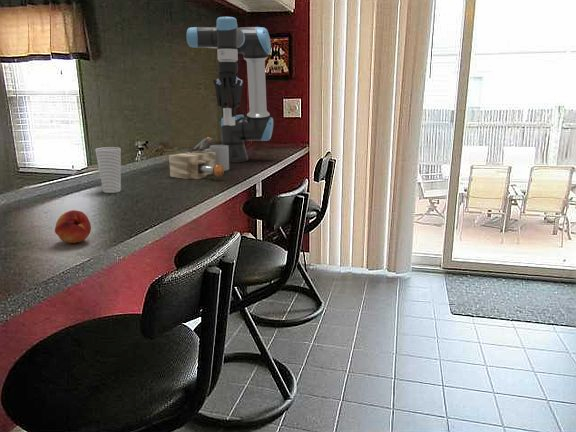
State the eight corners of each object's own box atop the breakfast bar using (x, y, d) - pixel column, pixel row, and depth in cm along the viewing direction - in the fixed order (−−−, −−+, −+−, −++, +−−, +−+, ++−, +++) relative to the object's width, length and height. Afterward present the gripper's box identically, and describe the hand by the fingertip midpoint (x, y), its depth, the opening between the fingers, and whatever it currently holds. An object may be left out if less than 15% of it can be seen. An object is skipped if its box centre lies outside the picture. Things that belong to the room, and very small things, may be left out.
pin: (194, 171, 200) (193, 160, 199) (224, 175, 191) (224, 164, 190) (186, 173, 196) (185, 162, 195) (216, 177, 187) (216, 165, 186)
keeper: (199, 151, 209) (197, 148, 209) (213, 139, 202) (212, 135, 203) (192, 152, 205) (190, 149, 205) (206, 140, 199) (204, 136, 199)
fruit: (56, 249, 107) (52, 216, 105) (56, 240, 114) (52, 208, 112) (93, 245, 110) (89, 212, 108) (91, 236, 117) (88, 205, 115)
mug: (231, 168, 219) (230, 145, 216) (225, 171, 211) (225, 147, 208) (207, 167, 221) (206, 144, 219) (200, 170, 213) (199, 146, 210)
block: (199, 170, 213) (198, 146, 210) (222, 173, 206) (221, 149, 203) (170, 176, 198) (168, 151, 195) (193, 179, 191) (192, 153, 188)
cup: (100, 194, 163) (95, 150, 159) (98, 190, 171) (94, 147, 167) (125, 192, 167) (122, 149, 163) (123, 188, 174) (119, 146, 170)
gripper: (205, 61, 176) (208, 124, 182) (237, 60, 168) (238, 126, 174) (218, 62, 182) (220, 123, 188) (249, 61, 174) (250, 125, 180)
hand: (229, 125), depth 181 cm, fingers open, 2 cm apart
